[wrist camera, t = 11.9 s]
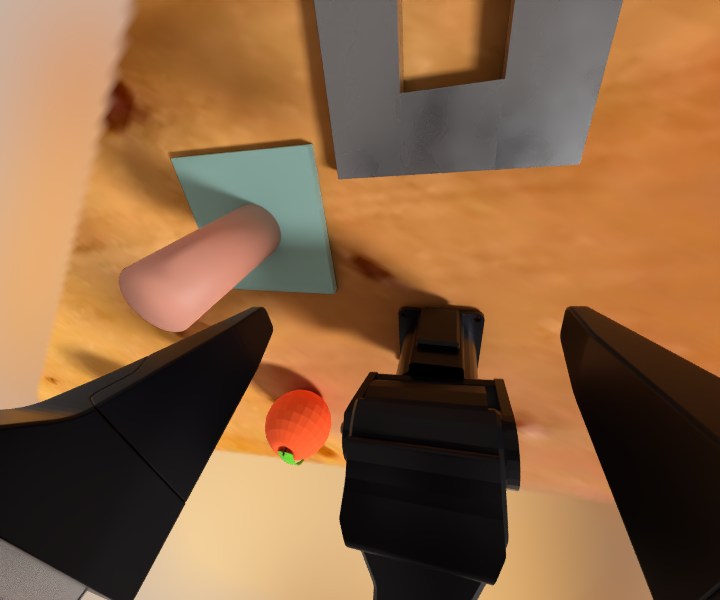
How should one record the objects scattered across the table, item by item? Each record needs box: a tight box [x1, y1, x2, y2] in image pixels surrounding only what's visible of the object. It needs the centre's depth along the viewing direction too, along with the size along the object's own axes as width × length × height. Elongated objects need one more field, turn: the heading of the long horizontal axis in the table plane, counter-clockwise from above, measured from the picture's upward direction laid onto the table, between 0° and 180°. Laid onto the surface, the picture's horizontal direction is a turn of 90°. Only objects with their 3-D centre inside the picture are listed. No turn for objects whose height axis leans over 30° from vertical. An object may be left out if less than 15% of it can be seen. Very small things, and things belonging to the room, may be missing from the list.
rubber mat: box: [171, 144, 337, 294], centre depth 23 cm, size 11×11×1 cm
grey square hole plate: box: [314, 0, 623, 179], centre depth 14 cm, size 13×13×2 cm
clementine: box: [265, 390, 331, 465], centre depth 32 cm, size 8×7×7 cm
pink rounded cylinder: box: [119, 204, 281, 332], centre depth 19 cm, size 4×4×10 cm
